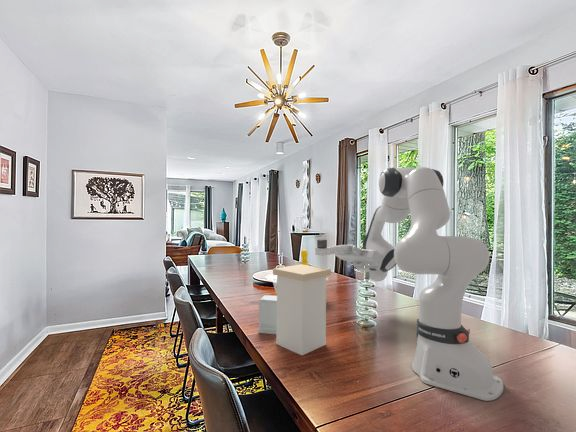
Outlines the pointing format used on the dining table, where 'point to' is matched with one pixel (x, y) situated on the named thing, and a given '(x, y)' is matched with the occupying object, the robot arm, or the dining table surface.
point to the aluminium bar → (330, 248)
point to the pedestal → (301, 307)
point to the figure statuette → (304, 257)
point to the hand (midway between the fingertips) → (347, 246)
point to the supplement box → (268, 314)
